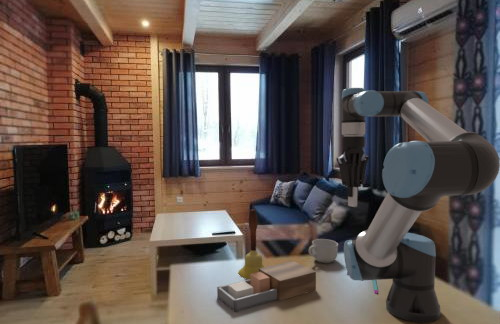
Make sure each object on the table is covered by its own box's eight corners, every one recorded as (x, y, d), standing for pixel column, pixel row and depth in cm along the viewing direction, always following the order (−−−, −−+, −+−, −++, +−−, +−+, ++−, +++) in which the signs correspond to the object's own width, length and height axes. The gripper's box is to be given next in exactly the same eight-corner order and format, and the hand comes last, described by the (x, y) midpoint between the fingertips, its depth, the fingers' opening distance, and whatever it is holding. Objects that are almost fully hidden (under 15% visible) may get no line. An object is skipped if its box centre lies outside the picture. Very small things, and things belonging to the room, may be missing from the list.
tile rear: (259, 297, 124) (269, 294, 126) (259, 279, 123) (269, 277, 125) (250, 291, 129) (260, 288, 131) (250, 273, 129) (260, 271, 131)
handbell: (276, 273, 147) (275, 209, 145) (252, 282, 138) (251, 214, 136) (254, 265, 156) (253, 205, 154) (231, 273, 147) (230, 209, 145)
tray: (277, 299, 124) (277, 289, 123) (234, 311, 116) (234, 300, 115) (257, 286, 134) (257, 277, 134) (217, 297, 126) (217, 287, 126)
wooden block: (315, 290, 131) (315, 271, 130) (280, 300, 123) (280, 281, 122) (293, 277, 142) (293, 260, 141) (259, 286, 134) (258, 268, 134)
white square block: (236, 291, 119) (237, 303, 120) (253, 287, 122) (253, 299, 123) (228, 285, 125) (228, 296, 125) (244, 281, 128) (244, 292, 128)
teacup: (328, 255, 167) (328, 237, 166) (343, 263, 157) (343, 244, 156) (300, 259, 162) (300, 241, 161) (314, 267, 152) (314, 248, 151)
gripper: (358, 135, 132) (358, 202, 134) (330, 136, 125) (330, 206, 127) (375, 135, 125) (374, 205, 127) (347, 136, 119) (346, 210, 121)
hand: (352, 206), depth 127 cm, fingers closed
